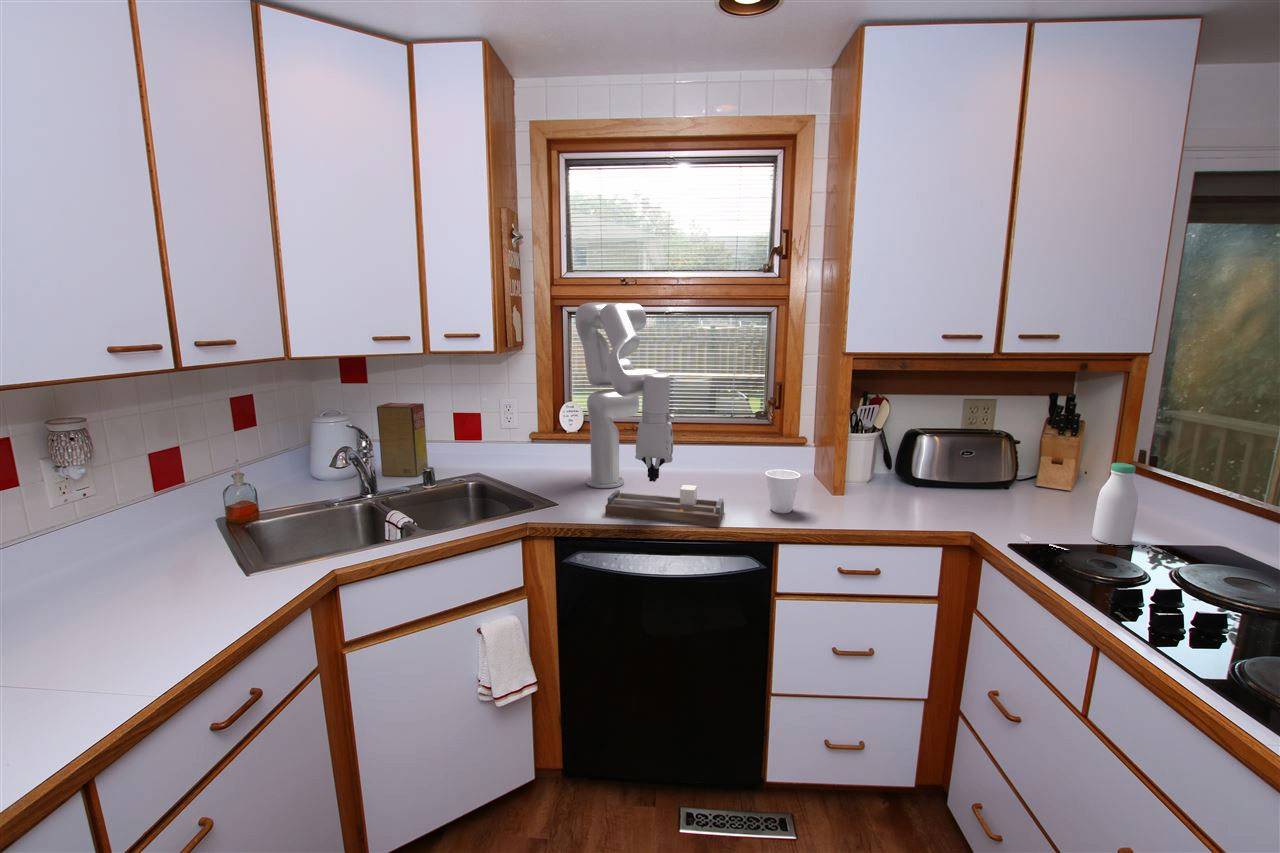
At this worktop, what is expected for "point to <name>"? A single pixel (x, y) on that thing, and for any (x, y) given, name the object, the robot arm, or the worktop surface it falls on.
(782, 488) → the cup
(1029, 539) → the fork
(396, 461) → the food packaging
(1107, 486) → the milk bottle
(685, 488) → the fader tab
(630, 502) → the fader console
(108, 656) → the worktop surface
